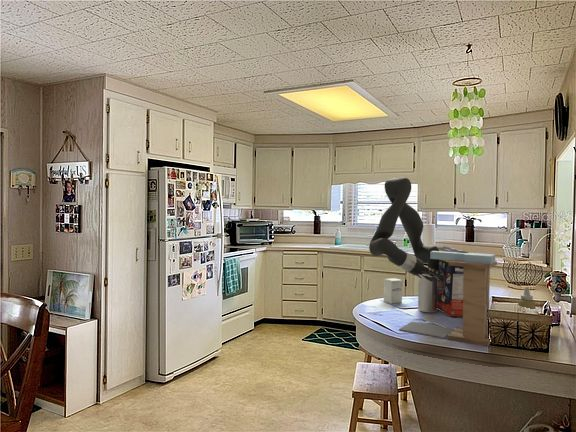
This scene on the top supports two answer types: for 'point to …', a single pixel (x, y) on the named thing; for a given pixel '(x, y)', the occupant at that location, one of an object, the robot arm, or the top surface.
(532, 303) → the squeeze bottle
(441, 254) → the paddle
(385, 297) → the supplement box
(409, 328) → the mat
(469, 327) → the wooden pedestal stand
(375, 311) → the top surface
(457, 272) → the cereal box
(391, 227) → the robot arm
